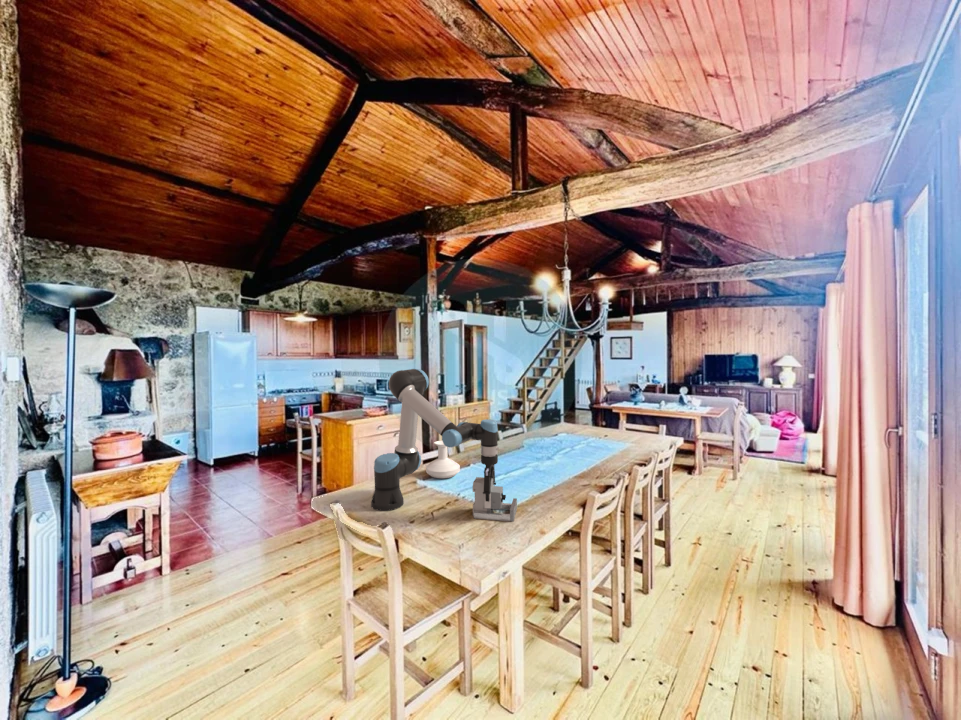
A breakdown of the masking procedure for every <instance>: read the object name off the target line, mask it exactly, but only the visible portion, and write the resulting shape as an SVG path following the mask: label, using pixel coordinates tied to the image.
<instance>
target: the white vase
mask: <svg viewBox="0 0 961 720" xmlns="http://www.w3.org/2000/svg"><path fill="white" fill-rule="evenodd" d="M433 444H434V445H435V446H437V453H438V454H437V456H438V457H437V458H436V459H434V460H432V461H431V462H429V463H428V464H427V465H426V466H425V472H426V473H427V475H429V476H430V477H432V478H435V479H448V478H453V477H455V476H456V475H457V474H458V473H460V471H461V467H460V466H461V465H460V464H459V463H457V462H456V461H455V460H453V459H451V458H449V457H448V447H447V446H445V445H444V444H443V441H442V440H437V441H434V442H433Z"/></svg>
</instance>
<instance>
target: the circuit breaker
mask: <svg viewBox="0 0 961 720" xmlns="http://www.w3.org/2000/svg"><path fill="white" fill-rule="evenodd" d="M483 492H484V476H483V477H482V476H478V477H477V476H476V477H475V479H474V480H473V481H472V493H474V502H473V504H472V516H473V517H474V512H487V513H494V512H493V511H494V510H502V509H501V506H502V504H503V503H504V501H506V498H507V495H506V494H504V488H503V486H499V485H498V486H497V485H494V486H493V478H491V489H490V493H491V508H485V494H483Z"/></svg>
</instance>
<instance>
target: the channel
mask: <svg viewBox="0 0 961 720" xmlns="http://www.w3.org/2000/svg"><path fill="white" fill-rule="evenodd" d="M517 499H518V498H516V497H513V499H512V502H511V503H509V502H503V504H502V506H501V509H500V510H503V509H507V510H506V511H509V513H499V512H492V513H487V512H474V516H473V519H476V520H477V519H478V520H487V521H488V520H489V521H503V522H514V521H515V517H516V514H517V509H518V500H517Z"/></svg>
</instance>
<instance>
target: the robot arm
mask: <svg viewBox="0 0 961 720" xmlns="http://www.w3.org/2000/svg"><path fill="white" fill-rule="evenodd" d="M429 383H430V381H429V377H428V375H427V373H426V372H425V371H424V370H422V369H420V368H411V369H410V368H409V369H404V370H403V369H401V370H397V371H395V372H393V373H392V374H391V376H390V377H389V380H388V388H389V391H390V392H391V394H392V396H393V397H394V398H395V399H397V400H398V401H399V402H401V409H400V410H401V411H400V421H399V422H400V423H399V430H398V431H399V433H398V442H397V445H396V446H395V447H394V452H388V453H383V454H381V455H378V456H377V457H376V458H375V460H374V462H373V463H374V464H373V465H374V466H373V471H374V472H373V474H374V476H373V477H374V492H373V495H372V498H371V501H370V503H371V504H370V505H371V509H373V510H375V511H380V512H381V511H383V512H386V511H394V510H397V509H398V508H399V509H400V508H401V507H402V506H403V505H404V502H405V501H404V495H403V493H402V491H401V488H400V487H401V486H400V485H401V484H400V479H402V478H403V477H405V476H408V475H411V474H413V473H414V472H416V471H418V470H419V468H420V466H421V464H422V456H421V454H420V451H419V449H418V448H419V447H417V446H416V443H417V442H416V441H417V431H418V423H419V422H418V421H419V418H421V419H422V421H423V420H424V422H425V423H427V425H429V426H430V427H431V428H432V429H433V430H434V431H436V433H438V434H439V435H440V436H441V441H443V444H444V445H445V446H447V448H454V447H458V446H459V445H462V444H464V443H466V442H469V441H473V440H474V441H480V454H481V455H480V462H481V464H482V465H484V466H485V467H484V468H483V469H484V470H483V477H484V492H483V494H485V508H491V493H490V489H491V478H493V486H497V482H496V472H495V471H496V470H495V466H496V465H497V464H498V459H499V458H498V457H499V456H498V454H499V453H498V450H499V449H500V447H498V433H499V432H498V431H499V429H498V422H497V421H496V420H495V419H482V420H481V421H480V423H475V422H468V421H465V422H463V421H462V422H458V424H457V425H456V424H455V423H454V422H452V421H451V420H450V419H449V418H448V417H447V416H446V415H445V414H443V413H442V412H441V411H440V410H439V409H437V408H436V407H435V406H434V405H433V404H432V403H431V402H430V401H428V400H427V398H425V397H424V392H425V391H426V390H427V389H428V387H429Z"/></svg>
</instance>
